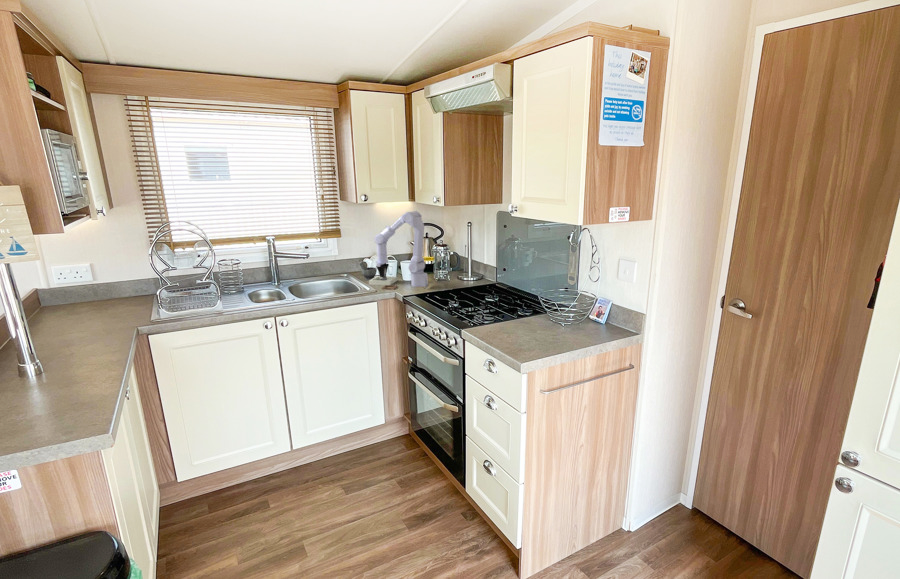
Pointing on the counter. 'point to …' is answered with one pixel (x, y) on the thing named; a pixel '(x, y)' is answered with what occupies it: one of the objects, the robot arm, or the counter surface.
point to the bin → (375, 281)
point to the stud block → (390, 287)
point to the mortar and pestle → (368, 271)
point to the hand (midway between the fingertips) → (383, 276)
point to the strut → (384, 276)
